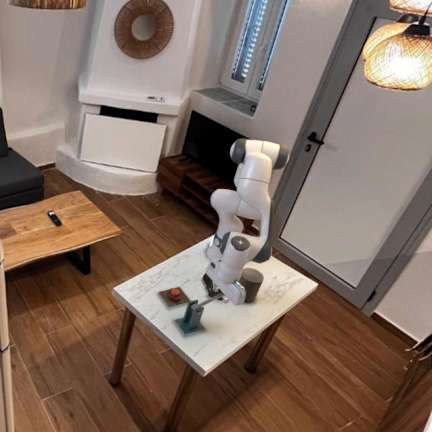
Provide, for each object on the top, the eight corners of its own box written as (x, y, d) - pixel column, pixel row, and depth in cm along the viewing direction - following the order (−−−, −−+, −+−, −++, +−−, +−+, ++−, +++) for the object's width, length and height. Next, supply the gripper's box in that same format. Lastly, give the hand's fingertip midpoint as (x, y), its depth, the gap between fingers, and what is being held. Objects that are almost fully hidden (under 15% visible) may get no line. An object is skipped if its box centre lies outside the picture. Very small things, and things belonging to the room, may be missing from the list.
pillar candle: (241, 304, 184) (250, 282, 175) (228, 289, 192) (237, 267, 183) (259, 301, 186) (270, 278, 177) (246, 286, 193) (256, 263, 184)
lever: (222, 289, 170) (221, 286, 169) (230, 298, 166) (230, 295, 164) (188, 306, 170) (188, 302, 168) (196, 315, 166) (195, 312, 164)
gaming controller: (224, 301, 184) (217, 293, 183) (213, 305, 187) (206, 297, 185) (221, 286, 192) (214, 278, 190) (211, 290, 195) (204, 283, 193)
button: (176, 290, 187) (176, 287, 186) (180, 295, 184) (181, 293, 183) (169, 292, 186) (170, 289, 185) (173, 297, 183) (174, 294, 182)
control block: (178, 289, 192) (180, 284, 190) (189, 302, 185) (190, 297, 183) (158, 294, 189) (159, 289, 187) (168, 308, 182) (169, 303, 180)
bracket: (193, 316, 178) (200, 295, 170) (204, 330, 172) (212, 309, 164) (174, 321, 176) (180, 300, 168) (184, 336, 170) (191, 314, 162)
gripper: (253, 289, 152) (243, 312, 160) (220, 254, 168) (212, 278, 176) (239, 292, 151) (229, 316, 159) (207, 257, 166) (199, 281, 174)
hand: (220, 296), depth 167 cm, fingers open, 5 cm apart
